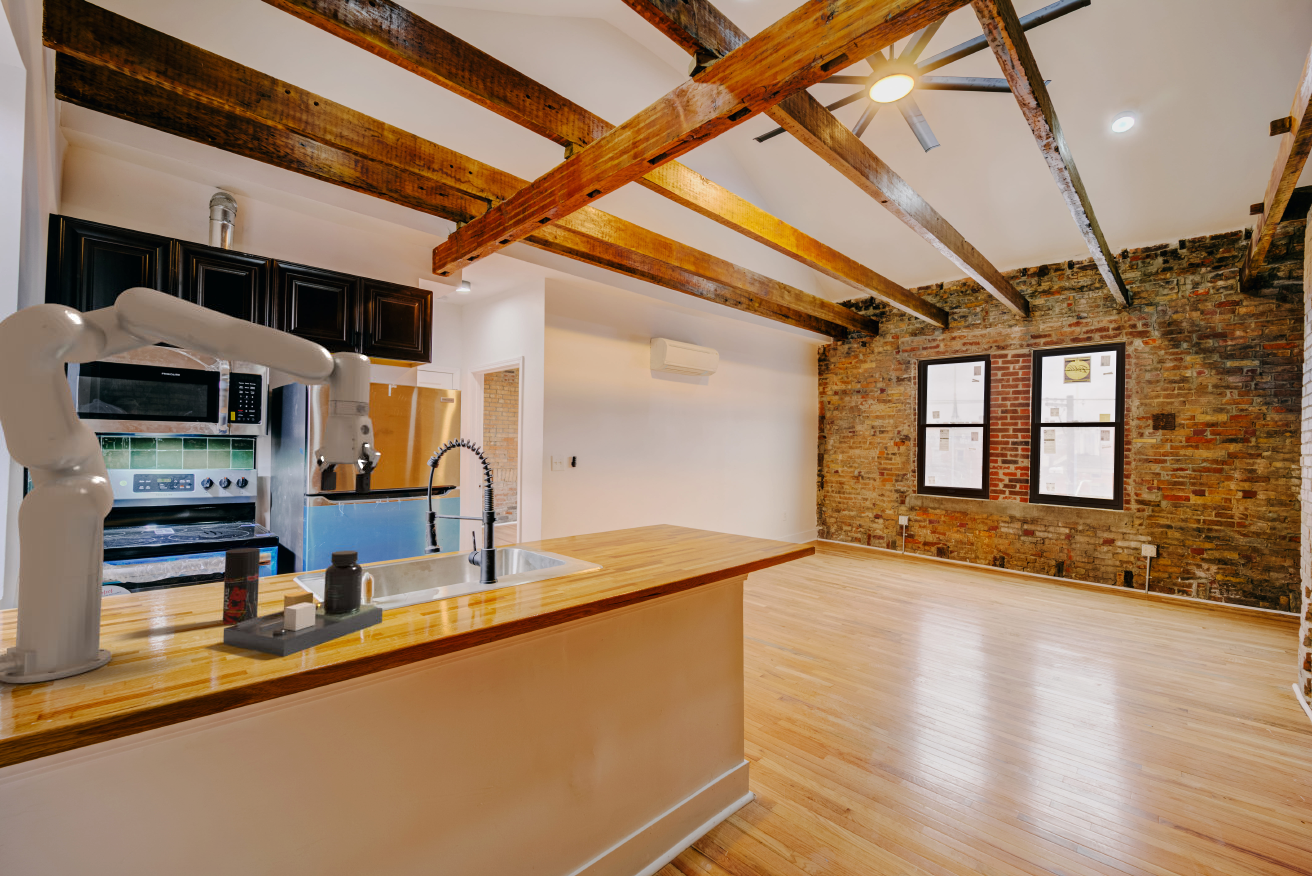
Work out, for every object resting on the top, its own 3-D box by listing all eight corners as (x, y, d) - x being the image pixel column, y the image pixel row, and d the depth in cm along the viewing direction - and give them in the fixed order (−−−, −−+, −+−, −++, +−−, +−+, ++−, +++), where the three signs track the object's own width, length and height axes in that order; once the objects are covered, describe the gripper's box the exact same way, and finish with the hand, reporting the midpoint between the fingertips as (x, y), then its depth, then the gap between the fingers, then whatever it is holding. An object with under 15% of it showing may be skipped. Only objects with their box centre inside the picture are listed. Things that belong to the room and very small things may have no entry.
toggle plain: (295, 630, 104) (296, 609, 104) (283, 628, 105) (284, 607, 105) (314, 624, 108) (315, 604, 108) (303, 622, 109) (304, 602, 109)
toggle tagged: (294, 617, 112) (295, 597, 113) (283, 615, 113) (284, 595, 114) (312, 612, 116) (313, 592, 116) (302, 610, 117) (302, 591, 117)
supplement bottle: (345, 603, 122) (348, 548, 122) (367, 607, 119) (370, 551, 119) (315, 611, 116) (318, 553, 116) (338, 616, 113) (341, 556, 113)
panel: (283, 656, 100) (284, 636, 100) (223, 644, 105) (223, 625, 105) (382, 622, 120) (382, 605, 120) (327, 613, 126) (327, 597, 126)
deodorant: (263, 617, 122) (266, 548, 122) (241, 625, 116) (244, 553, 116) (239, 615, 123) (242, 547, 123) (215, 624, 117) (218, 552, 117)
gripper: (394, 412, 119) (390, 492, 119) (334, 412, 125) (330, 488, 124) (365, 409, 112) (361, 494, 111) (303, 409, 118) (299, 490, 117)
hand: (345, 491), depth 118 cm, fingers open, 9 cm apart
